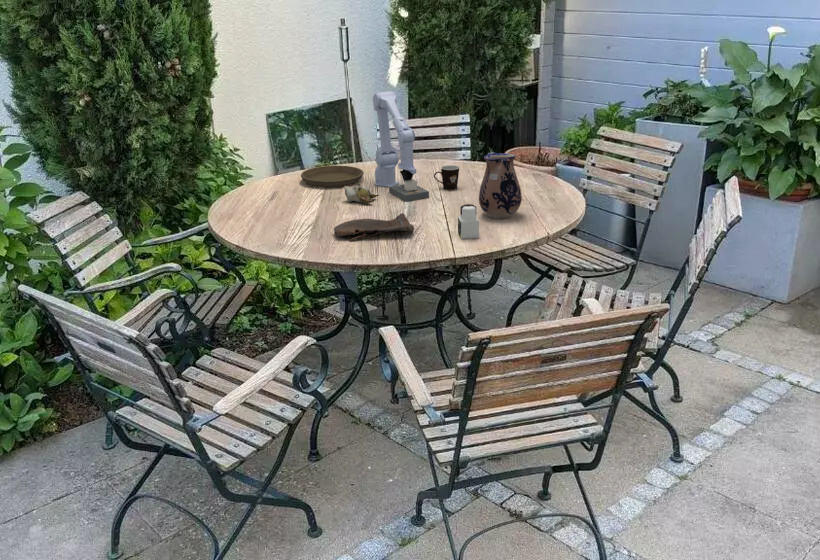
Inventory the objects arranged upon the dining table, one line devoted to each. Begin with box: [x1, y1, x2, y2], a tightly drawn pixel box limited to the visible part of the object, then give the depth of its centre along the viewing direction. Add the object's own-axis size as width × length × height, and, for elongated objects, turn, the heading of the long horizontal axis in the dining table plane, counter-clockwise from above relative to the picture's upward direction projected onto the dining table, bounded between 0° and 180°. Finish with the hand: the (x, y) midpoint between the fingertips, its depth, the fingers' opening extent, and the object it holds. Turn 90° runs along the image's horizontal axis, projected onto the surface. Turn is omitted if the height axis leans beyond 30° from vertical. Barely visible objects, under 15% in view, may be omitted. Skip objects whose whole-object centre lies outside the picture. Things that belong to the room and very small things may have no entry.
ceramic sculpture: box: [343, 183, 380, 204], centre depth 321 cm, size 11×9×15 cm
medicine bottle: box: [457, 203, 480, 240], centre depth 275 cm, size 7×7×12 cm
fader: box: [403, 178, 418, 191], centre depth 326 cm, size 3×5×4 cm, turn 117°
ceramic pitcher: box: [478, 151, 523, 219], centre depth 295 cm, size 18×21×25 cm
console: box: [388, 183, 430, 203], centre depth 330 cm, size 17×12×3 cm
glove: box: [333, 212, 415, 242], centre depth 283 cm, size 32×20×5 cm, turn 95°
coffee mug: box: [433, 164, 460, 191], centre depth 337 cm, size 12×9×10 cm
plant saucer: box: [300, 165, 364, 189], centre depth 357 cm, size 31×31×5 cm
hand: (407, 185), depth 329 cm, fingers closed
